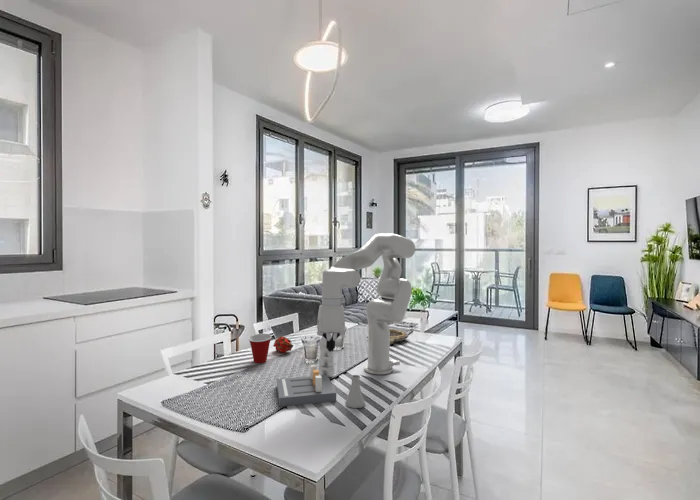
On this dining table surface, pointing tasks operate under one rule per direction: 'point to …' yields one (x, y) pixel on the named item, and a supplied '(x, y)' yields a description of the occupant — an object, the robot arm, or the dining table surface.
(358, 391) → the flask
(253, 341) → the plastic cup
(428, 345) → the dining table surface
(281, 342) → the dragon fruit
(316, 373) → the block
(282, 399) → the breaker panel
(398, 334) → the pie
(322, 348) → the plastic bottle
